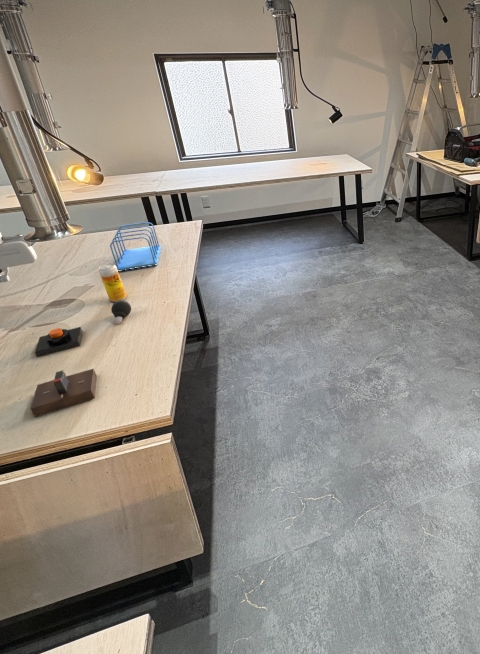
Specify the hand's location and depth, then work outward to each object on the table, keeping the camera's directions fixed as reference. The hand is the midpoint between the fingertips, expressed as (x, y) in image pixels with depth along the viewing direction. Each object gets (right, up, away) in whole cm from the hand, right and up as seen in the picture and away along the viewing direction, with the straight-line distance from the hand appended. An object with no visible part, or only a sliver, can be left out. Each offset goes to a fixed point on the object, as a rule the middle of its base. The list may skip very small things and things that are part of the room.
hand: (3, 281), depth 126 cm
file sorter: (-5, +9, +79) cm, 80 cm away
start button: (+5, -19, +15) cm, 24 cm away
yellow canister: (+7, -8, +44) cm, 45 cm away
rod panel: (+25, -33, -7) cm, 42 cm away
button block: (+5, -22, +16) cm, 28 cm away
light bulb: (+18, -15, +31) cm, 38 cm away
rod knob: (+25, -30, -8) cm, 40 cm away
